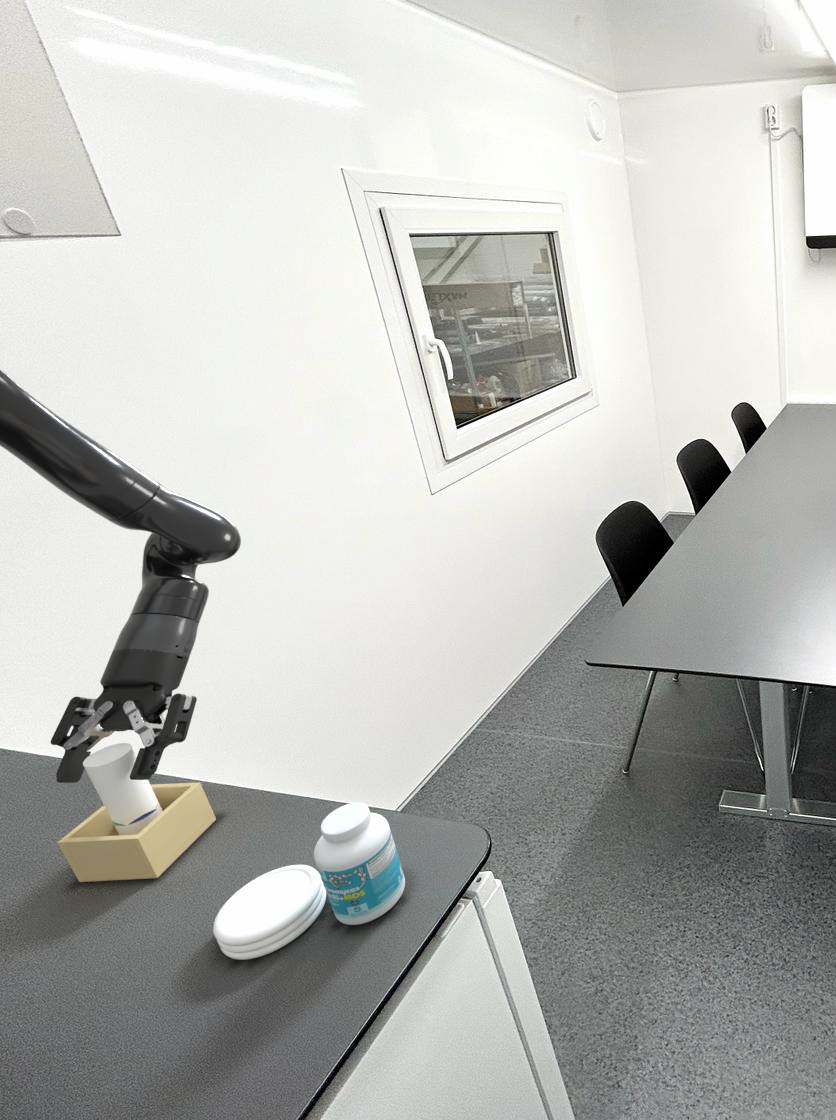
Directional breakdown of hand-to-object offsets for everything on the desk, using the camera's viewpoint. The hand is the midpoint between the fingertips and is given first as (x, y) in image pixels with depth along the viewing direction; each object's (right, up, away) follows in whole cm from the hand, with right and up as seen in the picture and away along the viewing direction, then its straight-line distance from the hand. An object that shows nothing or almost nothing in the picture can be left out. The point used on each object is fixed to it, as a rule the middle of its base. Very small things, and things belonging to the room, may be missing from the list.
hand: (103, 781), depth 78 cm
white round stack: (+25, -16, -3) cm, 29 cm away
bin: (0, -12, +6) cm, 13 cm away
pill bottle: (+34, -15, -1) cm, 37 cm away
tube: (0, -11, +6) cm, 13 cm away
